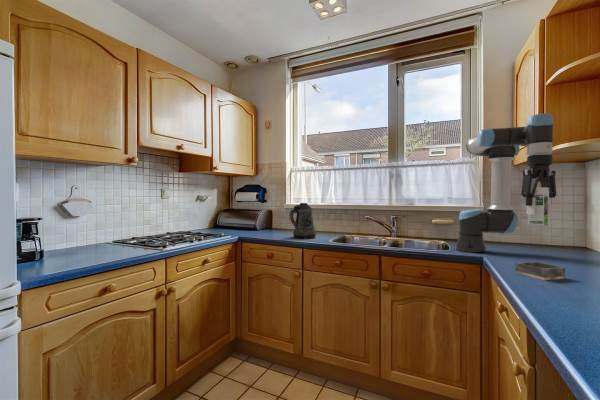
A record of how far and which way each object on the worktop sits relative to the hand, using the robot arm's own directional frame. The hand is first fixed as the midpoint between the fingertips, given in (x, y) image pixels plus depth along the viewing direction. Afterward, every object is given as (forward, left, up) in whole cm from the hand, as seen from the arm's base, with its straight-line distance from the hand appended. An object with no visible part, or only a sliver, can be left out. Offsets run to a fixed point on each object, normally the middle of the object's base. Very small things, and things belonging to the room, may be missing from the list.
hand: (538, 214), depth 110 cm
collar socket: (0, 0, -24) cm, 24 cm away
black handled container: (+61, -116, -24) cm, 134 cm away
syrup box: (0, 0, -4) cm, 4 cm away
